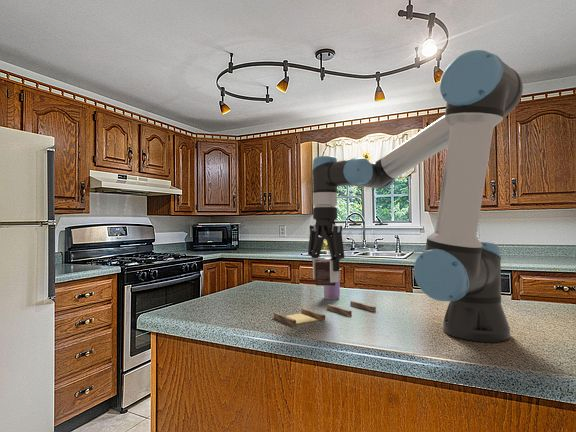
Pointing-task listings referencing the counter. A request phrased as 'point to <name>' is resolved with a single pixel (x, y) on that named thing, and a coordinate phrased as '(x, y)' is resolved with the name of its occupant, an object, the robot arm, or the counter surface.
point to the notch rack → (322, 317)
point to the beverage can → (332, 289)
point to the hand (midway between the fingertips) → (325, 280)
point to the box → (323, 273)
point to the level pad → (302, 318)
